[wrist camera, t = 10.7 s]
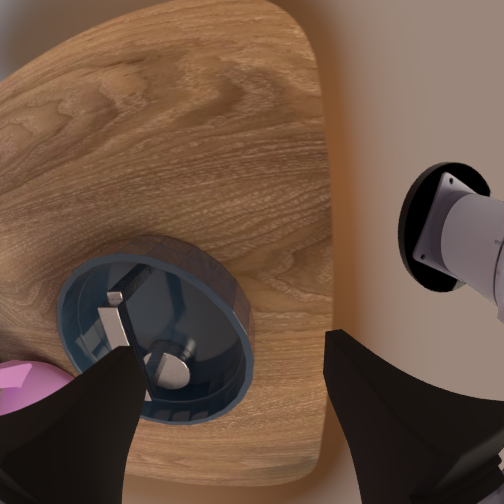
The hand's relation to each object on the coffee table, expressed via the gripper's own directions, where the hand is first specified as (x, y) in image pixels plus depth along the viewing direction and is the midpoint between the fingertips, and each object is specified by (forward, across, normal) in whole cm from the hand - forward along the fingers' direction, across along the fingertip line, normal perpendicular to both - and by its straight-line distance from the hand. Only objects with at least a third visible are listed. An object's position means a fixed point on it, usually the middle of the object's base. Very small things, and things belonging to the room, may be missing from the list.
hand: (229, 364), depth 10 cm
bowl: (+10, +6, +4) cm, 13 cm away
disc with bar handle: (+10, +6, +4) cm, 12 cm away
